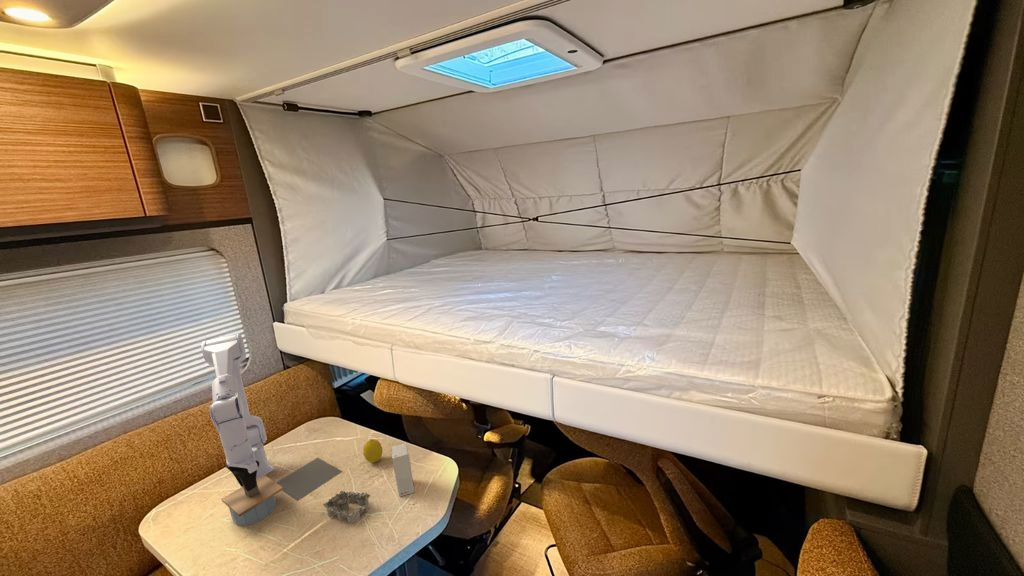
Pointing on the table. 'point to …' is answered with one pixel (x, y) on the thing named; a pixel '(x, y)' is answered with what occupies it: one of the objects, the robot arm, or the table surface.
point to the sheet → (252, 495)
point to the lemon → (372, 450)
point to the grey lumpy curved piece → (343, 505)
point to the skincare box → (402, 469)
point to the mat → (308, 478)
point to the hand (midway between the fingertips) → (248, 486)
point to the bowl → (255, 512)
